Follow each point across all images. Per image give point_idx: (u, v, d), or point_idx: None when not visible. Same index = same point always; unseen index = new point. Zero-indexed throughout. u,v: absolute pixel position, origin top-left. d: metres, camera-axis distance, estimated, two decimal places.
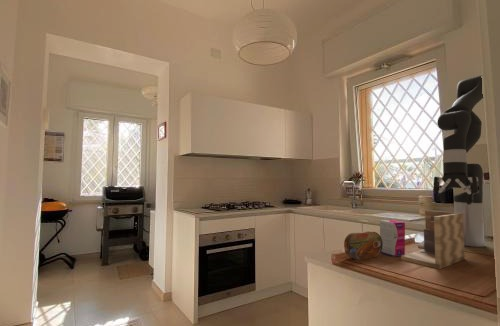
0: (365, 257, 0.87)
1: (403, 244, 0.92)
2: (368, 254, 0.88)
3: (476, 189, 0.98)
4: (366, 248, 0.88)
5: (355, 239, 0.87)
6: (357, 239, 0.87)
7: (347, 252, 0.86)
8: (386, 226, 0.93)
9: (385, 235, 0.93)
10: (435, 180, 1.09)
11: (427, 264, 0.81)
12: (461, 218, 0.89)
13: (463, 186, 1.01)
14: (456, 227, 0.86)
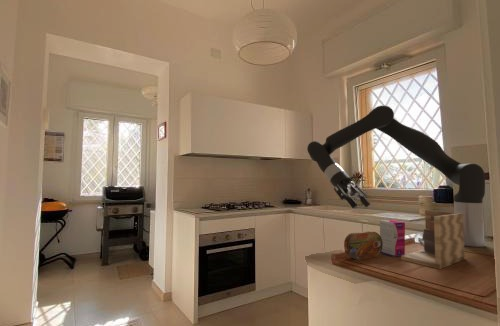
0: (365, 257, 0.87)
1: (403, 244, 0.92)
2: (368, 254, 0.88)
3: (340, 197, 1.04)
4: (366, 248, 0.88)
5: (355, 239, 0.87)
6: (357, 239, 0.87)
7: (347, 252, 0.86)
8: (386, 226, 0.93)
9: (385, 235, 0.93)
10: None
11: (427, 264, 0.81)
12: (461, 218, 0.89)
13: None
14: (456, 227, 0.86)
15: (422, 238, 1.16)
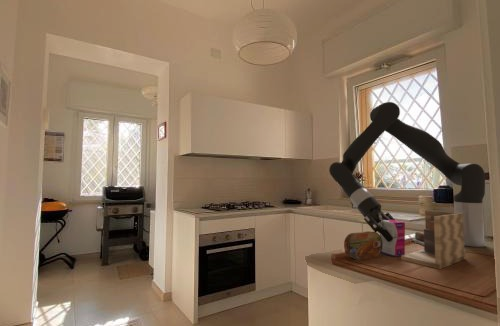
0: (365, 257, 0.87)
1: (403, 244, 0.92)
2: (368, 254, 0.88)
3: (373, 229, 0.93)
4: (366, 248, 0.88)
5: (355, 239, 0.87)
6: (357, 239, 0.87)
7: (347, 252, 0.86)
8: (386, 226, 0.93)
9: None
10: None
11: (427, 264, 0.81)
12: (461, 218, 0.89)
13: None
14: (456, 227, 0.86)
15: (415, 238, 1.15)
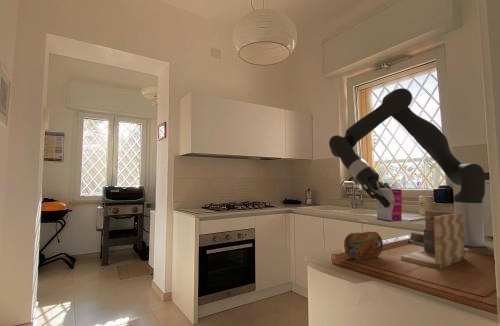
0: (365, 257, 0.87)
1: (400, 210, 0.94)
2: (368, 254, 0.88)
3: (370, 196, 0.95)
4: (366, 248, 0.88)
5: (355, 239, 0.87)
6: (357, 239, 0.87)
7: (347, 252, 0.86)
8: (383, 193, 0.95)
9: None
10: None
11: (427, 264, 0.81)
12: (461, 218, 0.89)
13: None
14: (456, 227, 0.86)
15: None
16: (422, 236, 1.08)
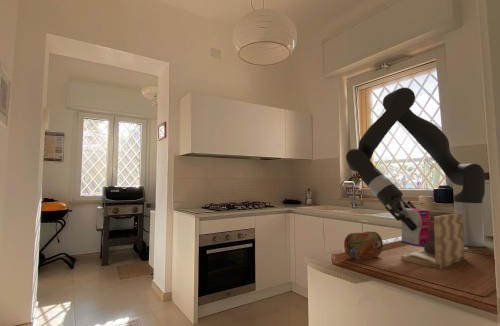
0: (365, 257, 0.87)
1: (427, 233, 0.87)
2: (368, 254, 0.88)
3: (395, 217, 0.88)
4: (366, 248, 0.88)
5: (355, 239, 0.87)
6: (357, 239, 0.87)
7: (347, 252, 0.86)
8: (409, 215, 0.88)
9: None
10: None
11: (427, 264, 0.81)
12: (461, 218, 0.89)
13: None
14: (456, 227, 0.86)
15: None
16: None
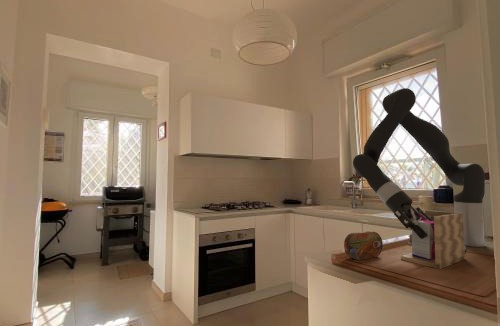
0: (365, 257, 0.87)
1: None
2: (368, 254, 0.88)
3: (404, 225, 0.85)
4: (366, 248, 0.88)
5: (355, 239, 0.87)
6: (357, 239, 0.87)
7: (347, 252, 0.86)
8: None
9: (418, 237, 0.85)
10: None
11: (427, 264, 0.81)
12: (461, 218, 0.89)
13: None
14: (456, 227, 0.86)
15: (410, 241, 1.09)
16: None
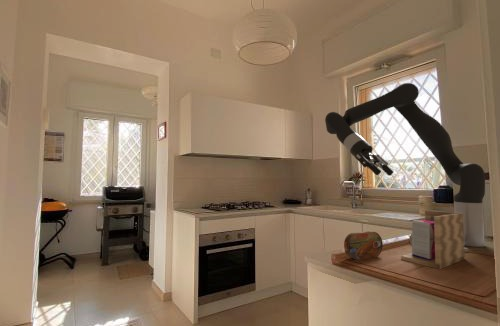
0: (365, 257, 0.87)
1: None
2: (368, 254, 0.88)
3: None
4: (366, 248, 0.88)
5: (355, 239, 0.87)
6: (357, 239, 0.87)
7: (347, 252, 0.86)
8: (420, 227, 0.85)
9: (418, 237, 0.85)
10: None
11: (427, 264, 0.81)
12: (461, 218, 0.89)
13: None
14: (456, 227, 0.86)
15: None
16: None
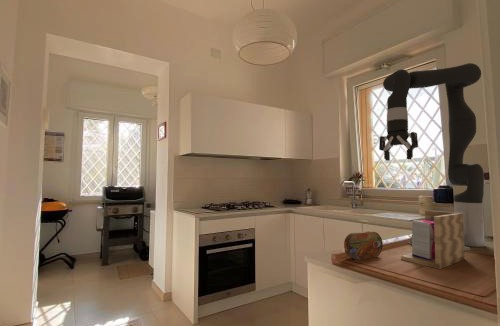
0: (365, 257, 0.87)
1: None
2: (368, 254, 0.88)
3: (414, 143, 1.02)
4: (366, 248, 0.88)
5: (355, 240, 0.87)
6: (357, 239, 0.87)
7: (347, 252, 0.86)
8: (420, 227, 0.85)
9: (418, 237, 0.85)
10: (380, 139, 1.13)
11: (427, 264, 0.81)
12: (461, 218, 0.89)
13: (403, 142, 1.05)
14: (456, 227, 0.86)
15: None
16: None
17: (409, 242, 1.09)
